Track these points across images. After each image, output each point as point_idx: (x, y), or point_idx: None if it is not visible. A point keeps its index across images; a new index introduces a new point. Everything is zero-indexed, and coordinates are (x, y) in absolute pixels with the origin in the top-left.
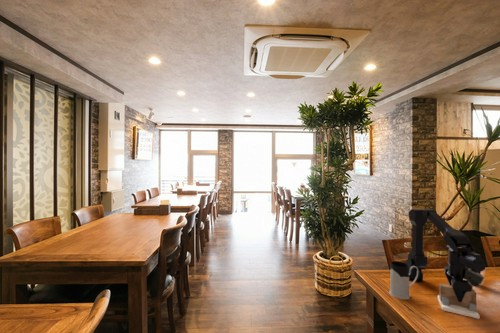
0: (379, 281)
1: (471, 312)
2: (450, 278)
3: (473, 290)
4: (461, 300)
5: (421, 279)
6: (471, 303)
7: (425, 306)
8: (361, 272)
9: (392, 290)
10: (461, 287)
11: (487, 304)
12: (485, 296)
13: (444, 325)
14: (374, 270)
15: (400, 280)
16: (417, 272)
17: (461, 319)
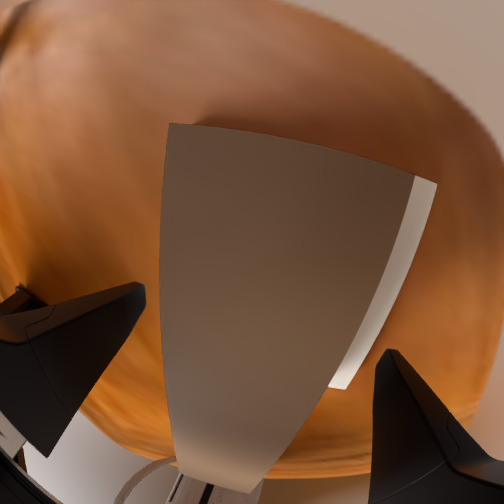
0: (152, 443)
1: (403, 229)
2: (46, 417)
3: (222, 158)
4: (405, 367)
5: (32, 306)
6: None
7: (319, 420)
8: (121, 445)
9: None
10: None
11: (132, 13)
12: (53, 24)
13: (468, 396)
14: None
15: None
16: (126, 496)
17: (441, 315)
